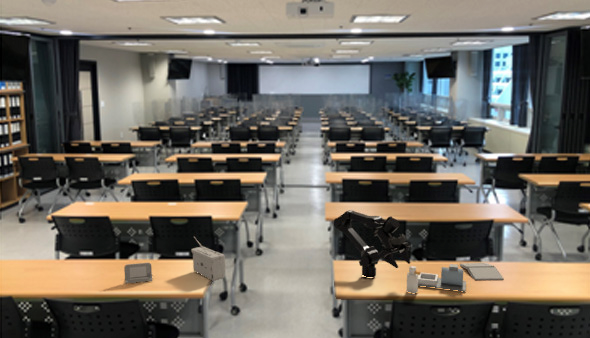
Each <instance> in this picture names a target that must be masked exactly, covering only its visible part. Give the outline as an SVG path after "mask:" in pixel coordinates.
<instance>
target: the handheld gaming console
mask: <svg viewBox="0 0 590 338" xmlns="http://www.w3.org/2000/svg"><path fill="white" fill-rule="evenodd" d="M152 271H153V270H152V263H150V262H142V263H141V262H139V263H138V262H137V263H129V264H127V263H126V264H125V265H124V285H127V283H132V284H137V283H136V282H143V283H146V282H145V281H152V282H153V278H152V276H153V272H152Z"/></svg>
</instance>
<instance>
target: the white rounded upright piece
mask: <svg viewBox="0 0 590 338" xmlns="http://www.w3.org/2000/svg"><path fill="white" fill-rule="evenodd" d="M408 268H409V271H408V272H407V273H406V292H407V291H408V292H411V293H416V292H418V293H419V289H418V288H419V287H418V276H419V275H420V274H421V273H422V272H420V271H418V270H417V266H415V265H414V266H413V265H411V266H410V265H409V267H408Z"/></svg>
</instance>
